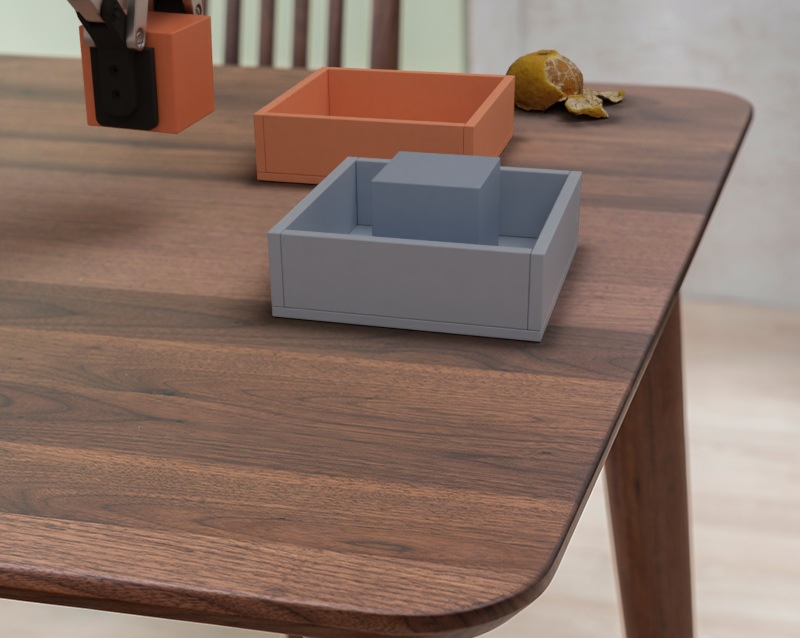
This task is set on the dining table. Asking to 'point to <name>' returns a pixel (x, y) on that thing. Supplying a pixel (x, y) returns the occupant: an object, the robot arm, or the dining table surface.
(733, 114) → the dining table surface
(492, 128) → the terracotta bin
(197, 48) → the terracotta block
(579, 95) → the fruit
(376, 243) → the slate bin
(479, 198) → the slate block
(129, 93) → the robot arm
